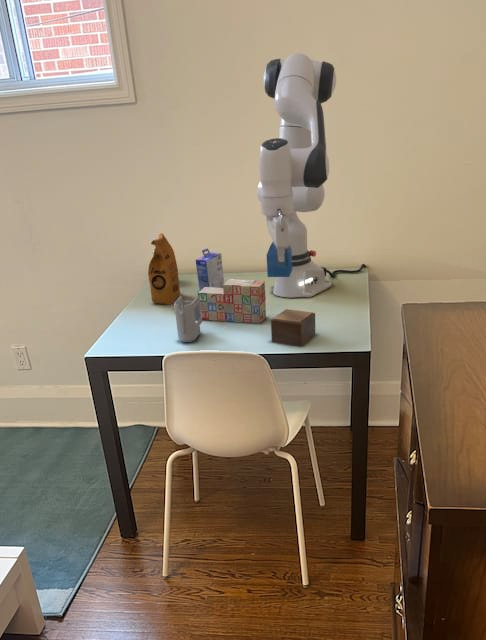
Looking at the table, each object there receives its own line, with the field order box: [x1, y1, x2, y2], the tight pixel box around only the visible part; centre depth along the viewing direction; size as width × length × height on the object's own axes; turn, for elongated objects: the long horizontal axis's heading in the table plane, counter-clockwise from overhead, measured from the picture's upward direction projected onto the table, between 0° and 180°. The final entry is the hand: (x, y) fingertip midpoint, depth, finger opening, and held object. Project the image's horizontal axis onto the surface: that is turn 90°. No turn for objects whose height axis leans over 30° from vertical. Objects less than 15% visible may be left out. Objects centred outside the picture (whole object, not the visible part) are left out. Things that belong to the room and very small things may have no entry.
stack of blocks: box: [197, 278, 267, 325], centre depth 218 cm, size 21×6×12 cm, turn 71°
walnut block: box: [270, 308, 316, 347], centre depth 202 cm, size 10×10×7 cm
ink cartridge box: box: [195, 248, 225, 291], centre depth 246 cm, size 10×6×14 cm, turn 147°
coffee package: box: [147, 232, 181, 305], centre depth 237 cm, size 10×12×22 cm
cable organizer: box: [173, 295, 203, 343], centre depth 207 cm, size 7×12×12 cm, turn 168°
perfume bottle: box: [266, 241, 292, 278], centre depth 189 cm, size 6×6×12 cm
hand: (279, 257), depth 190 cm, fingers closed on perfume bottle, 7 cm apart
